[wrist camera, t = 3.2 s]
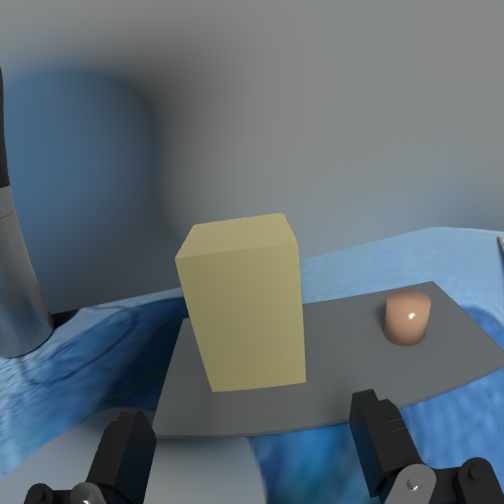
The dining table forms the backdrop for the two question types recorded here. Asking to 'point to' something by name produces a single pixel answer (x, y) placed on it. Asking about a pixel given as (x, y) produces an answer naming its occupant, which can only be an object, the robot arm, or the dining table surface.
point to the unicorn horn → (501, 241)
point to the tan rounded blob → (406, 317)
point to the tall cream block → (245, 301)
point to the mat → (330, 370)
